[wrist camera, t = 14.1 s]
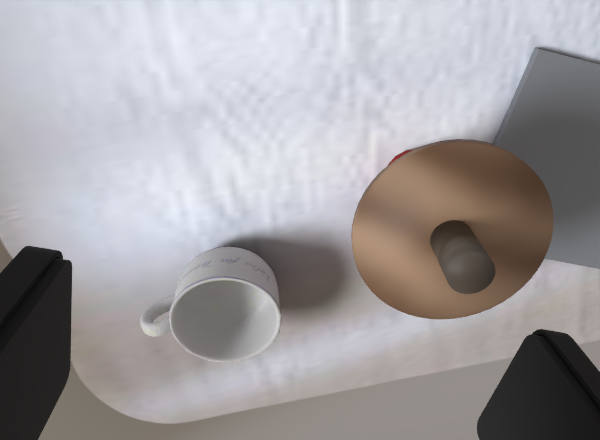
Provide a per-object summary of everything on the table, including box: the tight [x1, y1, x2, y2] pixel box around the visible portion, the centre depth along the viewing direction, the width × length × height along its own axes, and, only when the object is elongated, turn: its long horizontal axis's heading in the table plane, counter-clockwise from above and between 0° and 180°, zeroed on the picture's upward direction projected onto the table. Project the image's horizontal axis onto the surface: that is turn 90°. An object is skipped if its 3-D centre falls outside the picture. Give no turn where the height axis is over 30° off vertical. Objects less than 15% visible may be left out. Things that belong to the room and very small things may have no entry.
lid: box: [352, 139, 554, 319], centre depth 34 cm, size 15×15×6 cm
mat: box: [493, 48, 600, 269], centre depth 48 cm, size 20×20×1 cm
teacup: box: [141, 247, 281, 363], centre depth 49 cm, size 14×11×8 cm
